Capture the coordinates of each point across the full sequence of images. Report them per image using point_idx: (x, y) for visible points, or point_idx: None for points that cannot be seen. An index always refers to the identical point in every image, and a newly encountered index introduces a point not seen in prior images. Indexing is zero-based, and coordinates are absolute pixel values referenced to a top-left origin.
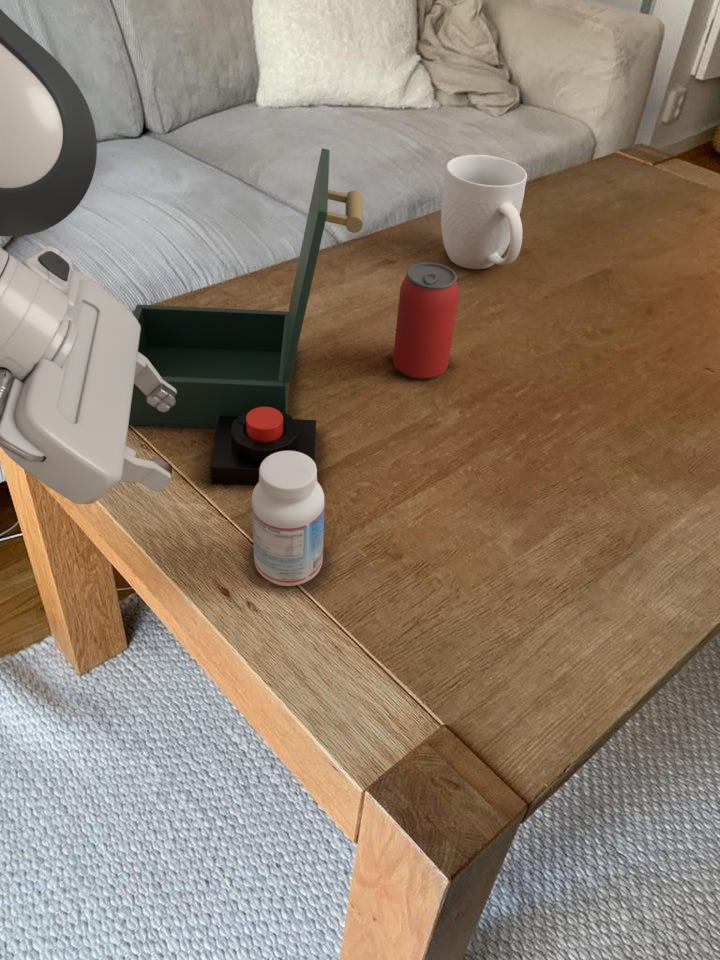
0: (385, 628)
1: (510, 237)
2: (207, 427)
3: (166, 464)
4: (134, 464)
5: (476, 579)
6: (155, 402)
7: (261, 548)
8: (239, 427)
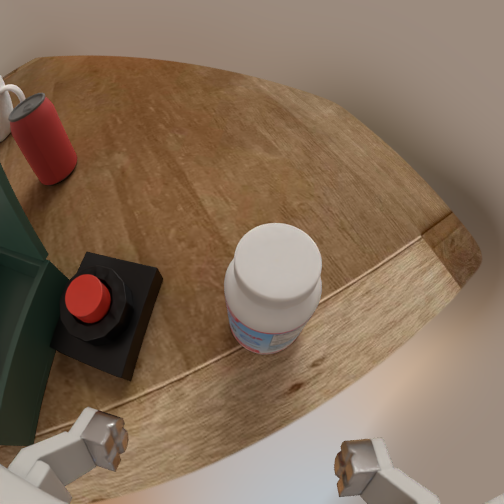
0: (349, 252)
1: (17, 95)
2: (51, 362)
3: (355, 450)
4: (437, 496)
5: (302, 181)
6: (117, 456)
7: (292, 338)
8: (80, 328)
